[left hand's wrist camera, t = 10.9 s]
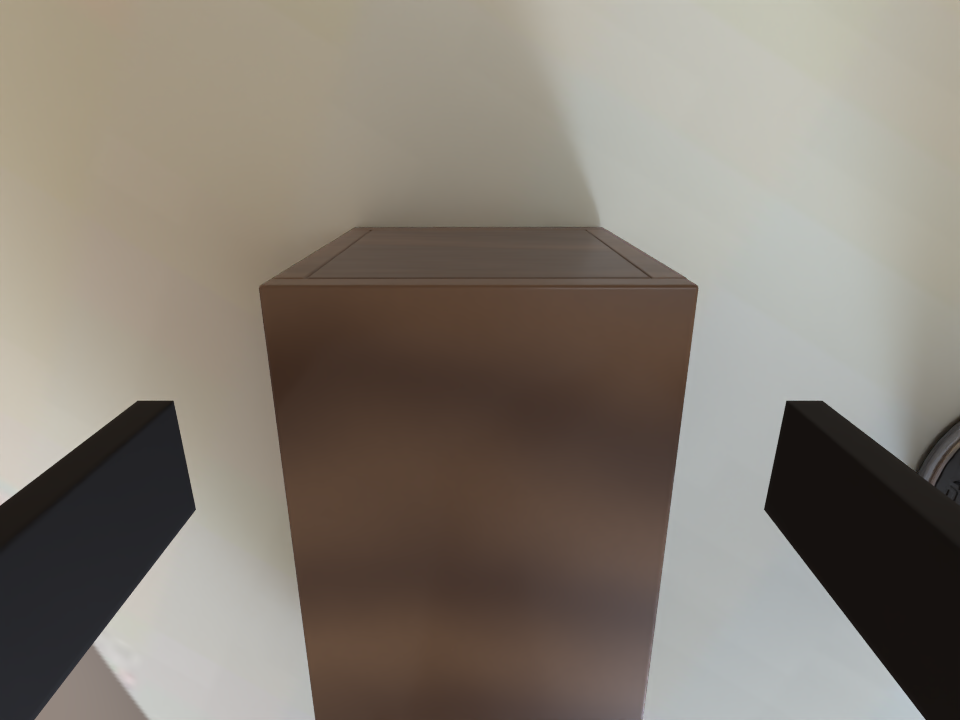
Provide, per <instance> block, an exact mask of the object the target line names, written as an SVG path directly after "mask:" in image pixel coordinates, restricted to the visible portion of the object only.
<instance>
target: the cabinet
mask: <svg viewBox="0 0 960 720" xmlns="http://www.w3.org/2000/svg"><path fill="white" fill-rule="evenodd" d="M259 292H260V300H261V307H262V315H263V323H264V330H265V338H266V346H267V353H268V361H269V368H270V376H271V384H272V391H273V399H274V407H275V414H276V422H277V430H278V437H279V445H280V453H281V460H282V468H283V476H284V483H285V491H286V498H287V506H288V514H289V521H290V529H291V537H292V544H293V552H294V560H295V567H296V575H297V583H298V590H299V598H300V605H301V613H302V621H303V628H304V636H305V644H306V651H307V659H308V667H309V674H310V682H311V690H312V697H313V705H314V713H315V720H643V714H644V706H645V699H646V691H647V683H648V675H649V668H650V660H651V652H652V644H653V636H654V629H655V621H656V613H657V605H658V598H659V590H660V582H661V574H662V566H663V559H664V551H665V543H666V535H667V528H668V520H669V512H670V504H671V497H672V489H673V481H674V473H675V465H676V458H677V450H678V442H679V434H680V427H681V419H682V411H683V403H684V395H685V388H686V380H687V372H688V364H689V357H690V349H691V341H692V333H693V326H694V318H695V310H696V302H697V294H698V286H697V285H696V284H694V283H693V282H691V281H689V280H688V279H686V277H684V276H682V275H681V274H679V273H677V272H676V271H674V270H672V269H671V268H669V267H667V266H666V265H664V264H662V263H661V262H659V261H658V260H656V259H654V258H653V257H651V256H649V255H648V254H646V253H644V252H643V251H641V250H639V249H638V248H636V247H634V246H633V245H631V244H629V243H628V242H626V241H625V240H623V239H621V238H620V237H618V236H616V235H615V234H613V233H611V232H610V231H608V230H606V229H604V228H602V227H355V228H353V229H351V230H350V231H348V232H347V233H345V234H344V235H342V236H340V237H339V238H337V239H335V240H334V241H332V242H331V243H329V244H327V245H326V246H324V247H322V248H321V249H319V250H318V251H316V252H314V253H313V254H311V255H309V256H308V257H306V258H304V259H303V260H301V261H300V262H298V263H296V264H295V265H293V266H291V267H290V268H288V269H287V270H285V271H283V272H282V273H280V274H278V275H277V276H275V277H274V278H272V279H271V280H269V281H267V282H265V283H264V284H262V285H260V287H259Z"/></svg>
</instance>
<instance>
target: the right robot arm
mask: <svg viewBox="0 0 960 720" xmlns="http://www.w3.org/2000/svg"><path fill="white" fill-rule="evenodd" d="M918 474H919V475H920V476H921V477H923V478H924V479H925V480H927V481H928V482H929V483H931V484H932V485H933V486H935V487H936V488H937V489H938V490H940V491H941V492H942V493H944V494H945V495H946V496H948V497H949V498H950V499H952V500H953V501H954V502H956V503H957V504H958V505H959V506H960V421H959V422H958V423H957V424H956V425H954V426H953V427H952V428H951V429H950V430H949V431H948V432H947V433H946V434H945V435H944V436H943V437H942V438H941V439H940V440H939V441H938V442H937V444H936V445H935V446H934V447H933V449H932V450H931V451H930V453H929V454H928V456H927V457H926V459H925V461H924V463H923V464H922V467H921V469H920V471H919V473H918Z"/></svg>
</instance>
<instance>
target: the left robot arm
mask: <svg viewBox="0 0 960 720" xmlns="http://www.w3.org/2000/svg"><path fill="white" fill-rule="evenodd" d="M195 510H196V508H195V503H194V498H193V493H192V488H191V483H190V479H189V474H188V469H187V464H186V459H185V454H184V449H183V445H182V440H181V435H180V430H179V425H178V420H177V415H176V411H175V406H174V401H137V402H136V403H134V404H133V405H132V406H130V407H129V408H128V409H126V410H125V411H124V412H122V413H121V414H120V415H119V416H117V417H116V418H115V419H113V420H112V421H111V422H109V423H108V424H107V425H105V426H104V427H103V428H101V429H100V430H99V431H98V432H96V433H95V434H94V435H92V436H91V437H90V438H88V439H87V440H86V441H84V442H83V443H82V444H80V445H79V446H78V447H77V448H75V449H74V450H73V451H71V452H70V453H69V454H67V455H66V456H65V457H63V458H62V459H61V460H60V461H58V462H57V463H56V464H54V465H53V466H52V467H50V468H49V469H48V470H46V471H45V472H44V473H42V474H41V475H40V476H39V477H37V478H36V479H35V480H33V481H32V482H31V483H29V484H28V485H27V486H25V487H24V488H23V489H22V490H20V491H19V492H18V493H16V494H15V495H14V496H12V497H11V498H10V499H8V500H7V501H6V502H4V503H3V504H2V505H1V506H0V720H34V719H35V718H36V717H37V716H38V714H39V713H40V712H41V710H42V709H43V708H44V706H45V705H46V704H47V703H48V701H49V700H50V699H51V697H52V696H53V695H54V693H55V692H56V691H57V689H58V688H59V687H60V686H61V684H62V683H63V682H64V680H65V679H66V678H67V676H68V675H69V674H70V673H71V671H72V670H73V669H74V667H75V666H76V665H77V663H78V662H79V661H80V660H81V658H82V657H83V656H84V654H85V653H86V652H87V650H88V649H89V648H90V647H91V645H92V644H93V643H94V641H95V640H96V639H97V637H98V636H99V635H100V634H101V632H102V631H103V630H104V628H105V627H106V626H107V624H108V623H109V622H110V621H111V619H112V618H113V617H114V615H115V614H116V613H117V611H118V610H119V609H120V608H121V606H122V605H123V604H124V602H125V601H126V600H127V598H128V597H129V596H130V595H131V593H132V592H133V591H134V589H135V588H136V587H137V585H138V584H139V583H140V581H141V580H142V579H143V578H144V576H145V575H146V574H147V572H148V571H149V570H150V568H151V567H152V566H153V565H154V563H155V562H156V561H157V559H158V558H159V557H160V555H161V554H162V553H163V552H164V550H165V549H166V548H167V546H168V545H169V544H170V542H171V541H172V540H173V539H174V537H175V536H176V535H177V533H178V532H179V531H180V529H181V528H182V527H183V526H184V524H185V523H186V522H187V520H188V519H189V518H190V516H191V515H192V514H193V513H194V511H195ZM764 510H765V511H766V513H767V514H768V515H769V516H770V518H771V519H772V520H773V522H774V523H775V524H776V526H777V527H778V528H779V529H780V531H781V532H782V533H783V535H784V536H785V537H786V539H787V540H788V541H789V542H790V544H791V545H792V546H793V548H794V549H795V550H796V552H797V553H798V554H799V555H800V557H801V558H802V559H803V561H804V562H805V563H806V565H807V566H808V567H809V568H810V570H811V571H812V572H813V574H814V575H815V576H816V578H817V579H818V580H819V581H820V583H821V584H822V585H823V587H824V588H825V589H826V591H827V592H828V593H829V595H830V596H831V597H832V598H833V600H834V601H835V602H836V604H837V605H838V606H839V608H840V609H841V610H842V611H843V613H844V614H845V615H846V617H847V618H848V619H849V621H850V622H851V623H852V624H853V626H854V627H855V628H856V630H857V631H858V632H859V634H860V635H861V636H862V637H863V639H864V640H865V641H866V643H867V644H868V645H869V647H870V648H871V649H872V650H873V652H874V653H875V654H876V656H877V657H878V658H879V660H880V661H881V662H882V663H883V665H884V666H885V667H886V669H887V670H888V671H889V673H890V674H891V675H892V676H893V678H894V679H895V680H896V682H897V683H898V684H899V686H900V687H901V688H902V690H903V691H904V692H905V693H906V695H907V696H908V697H909V699H910V700H911V701H912V703H913V704H914V705H915V706H916V708H917V709H918V710H919V712H920V713H921V714H922V716H923V717H924V718H925V719H926V720H960V506H959V505H958V504H957V503H956V502H954V501H953V500H952V499H950V498H949V497H948V496H946V495H945V494H944V493H942V492H941V491H940V490H938V489H937V488H936V487H935V486H933V485H932V484H931V483H929V482H928V481H927V480H925V479H924V478H923V477H921V476H920V475H919V474H918V473H916V472H915V471H914V470H912V469H911V468H910V467H908V466H907V465H906V464H904V463H903V462H902V461H900V460H899V459H898V458H897V457H895V456H894V455H893V454H891V453H890V452H889V451H887V450H886V449H885V448H883V447H882V446H881V445H880V444H878V443H877V442H876V441H874V440H873V439H872V438H870V437H869V436H868V435H866V434H865V433H864V432H862V431H861V430H860V429H859V428H857V427H856V426H855V425H853V424H852V423H851V422H849V421H848V420H847V419H845V418H844V417H843V416H841V415H840V414H839V413H838V412H836V411H835V410H834V409H832V408H831V407H830V406H828V405H827V404H826V403H824V402H823V401H786V406H785V411H784V415H783V420H782V425H781V430H780V435H779V440H778V445H777V449H776V454H775V459H774V464H773V469H772V474H771V479H770V483H769V488H768V493H767V498H766V503H765V508H764Z"/></svg>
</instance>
